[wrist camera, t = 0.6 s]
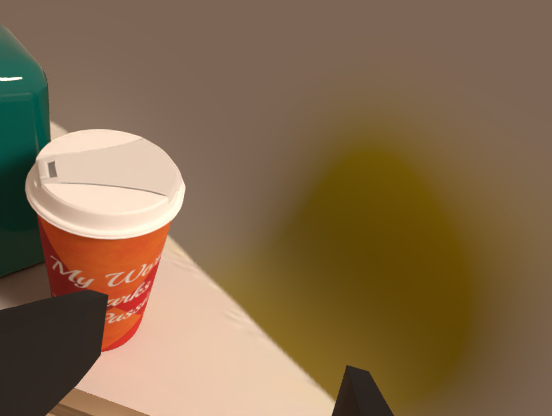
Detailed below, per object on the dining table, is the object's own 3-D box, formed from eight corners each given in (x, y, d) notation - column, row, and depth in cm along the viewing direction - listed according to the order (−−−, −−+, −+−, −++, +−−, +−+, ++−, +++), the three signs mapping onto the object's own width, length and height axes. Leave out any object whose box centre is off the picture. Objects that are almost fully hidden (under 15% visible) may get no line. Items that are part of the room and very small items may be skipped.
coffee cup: (46, 383, 26) (29, 228, 17) (35, 285, 31) (18, 121, 22) (170, 348, 31) (209, 210, 22) (144, 267, 36) (168, 125, 26)
